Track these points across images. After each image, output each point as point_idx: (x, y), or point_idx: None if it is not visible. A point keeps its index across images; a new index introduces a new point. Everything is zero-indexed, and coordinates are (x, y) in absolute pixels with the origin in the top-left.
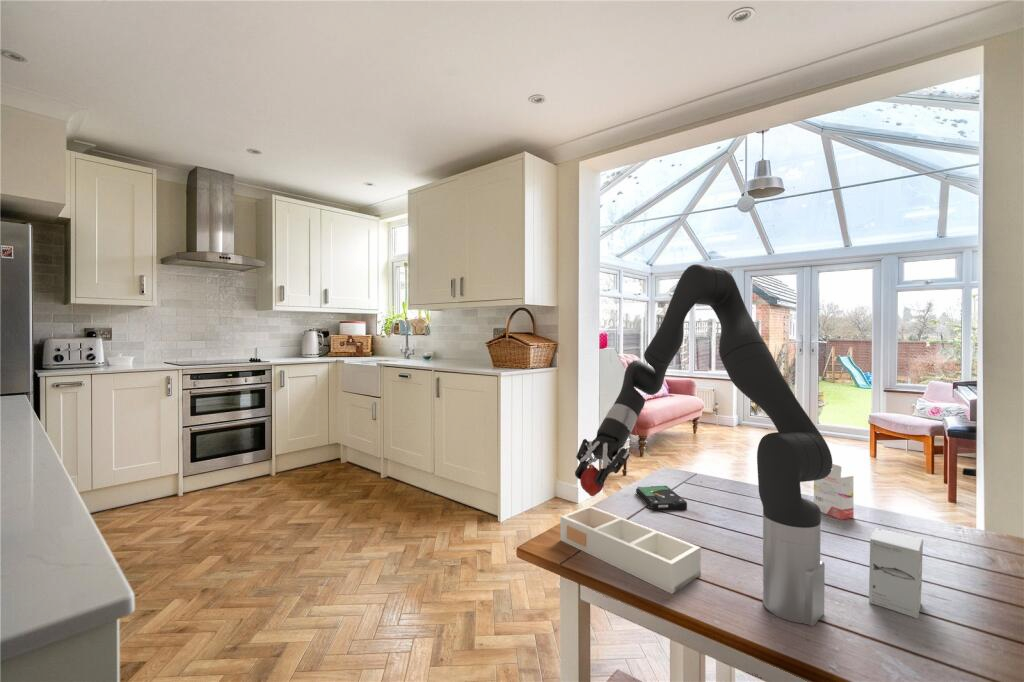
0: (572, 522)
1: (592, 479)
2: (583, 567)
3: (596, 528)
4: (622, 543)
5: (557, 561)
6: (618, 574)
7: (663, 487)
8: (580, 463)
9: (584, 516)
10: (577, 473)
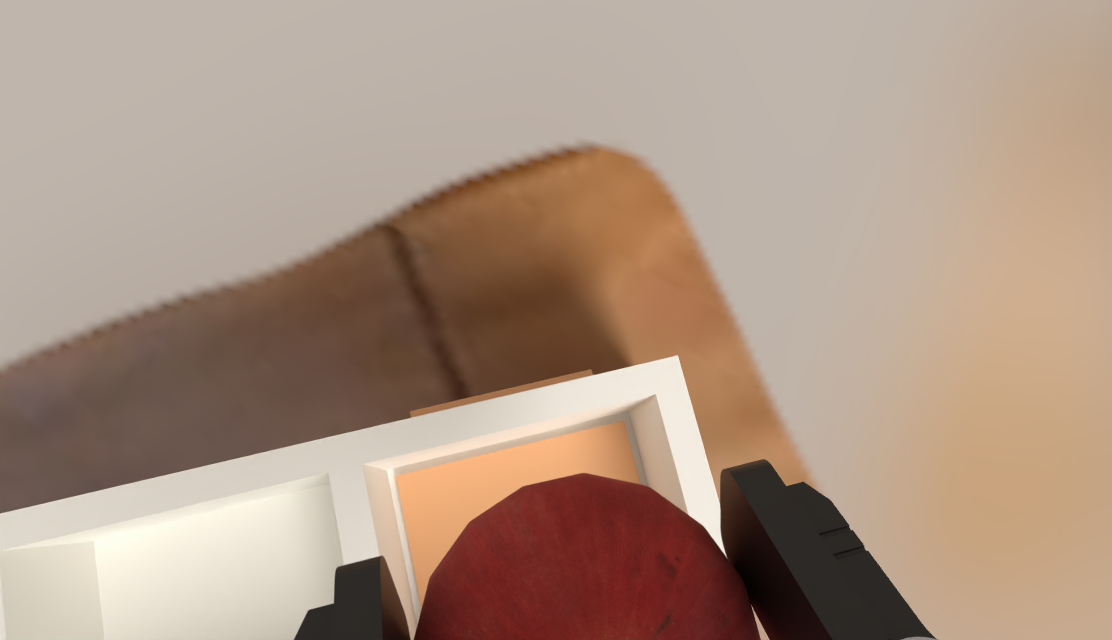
0: (548, 386)
1: (454, 570)
2: (289, 317)
3: (349, 482)
4: (36, 506)
5: (421, 228)
6: (113, 450)
7: None
8: (912, 634)
9: None
10: (737, 479)
